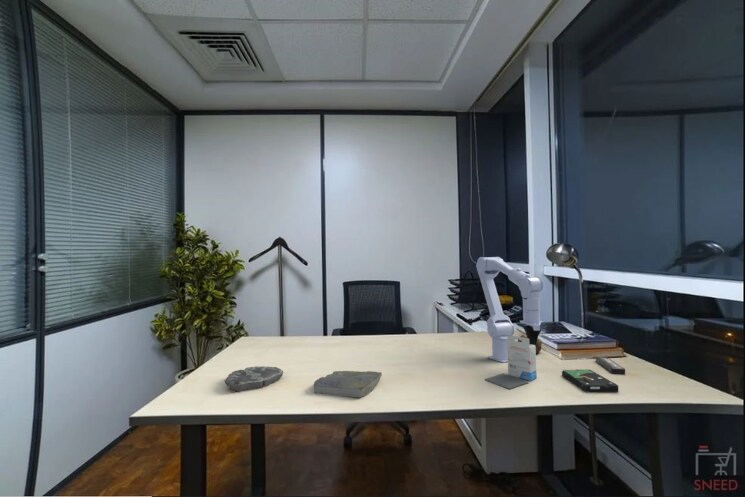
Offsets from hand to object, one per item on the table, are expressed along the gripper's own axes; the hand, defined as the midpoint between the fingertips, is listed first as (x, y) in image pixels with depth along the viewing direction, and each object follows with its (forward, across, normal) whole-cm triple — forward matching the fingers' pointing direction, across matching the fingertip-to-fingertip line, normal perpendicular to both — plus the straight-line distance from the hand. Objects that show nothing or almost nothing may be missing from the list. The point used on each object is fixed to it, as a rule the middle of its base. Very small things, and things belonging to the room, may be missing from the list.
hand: (532, 346), depth 121 cm
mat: (+10, +11, -11) cm, 19 cm away
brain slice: (+10, +28, -99) cm, 104 cm away
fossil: (+11, +25, -64) cm, 70 cm away
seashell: (+10, -29, +5) cm, 31 cm away
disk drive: (+11, +7, +16) cm, 20 cm away
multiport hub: (+10, -12, +30) cm, 34 cm away
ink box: (+10, +5, -5) cm, 12 cm away
